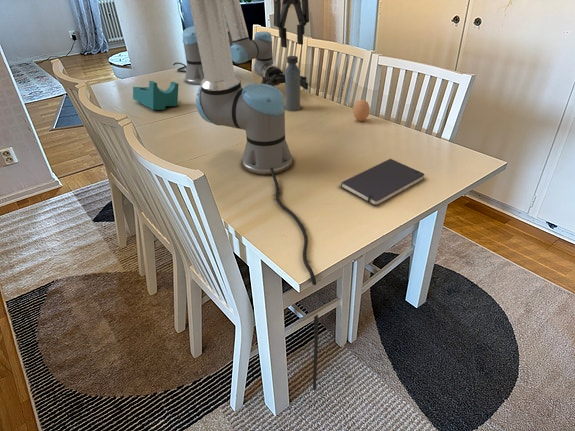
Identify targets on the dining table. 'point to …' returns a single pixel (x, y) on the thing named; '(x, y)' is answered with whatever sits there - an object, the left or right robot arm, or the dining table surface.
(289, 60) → the cap
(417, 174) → the notebook
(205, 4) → the right robot arm
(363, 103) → the egg
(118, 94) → the dining table surface
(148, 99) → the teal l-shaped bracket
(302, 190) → the dining table surface
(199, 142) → the dining table surface
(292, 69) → the bottle
